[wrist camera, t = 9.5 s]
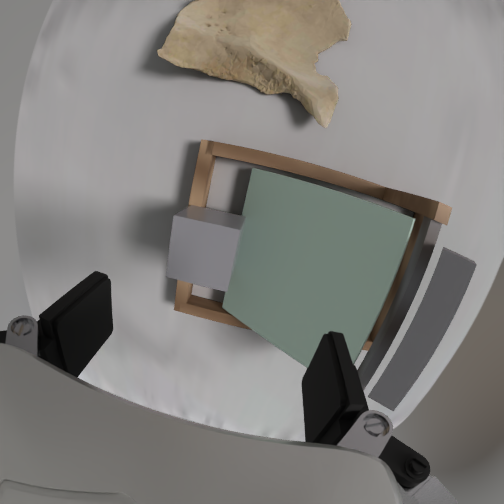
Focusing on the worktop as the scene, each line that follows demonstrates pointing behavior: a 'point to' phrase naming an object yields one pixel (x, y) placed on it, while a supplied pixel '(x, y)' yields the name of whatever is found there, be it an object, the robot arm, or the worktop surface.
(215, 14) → the rock
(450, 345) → the worktop surface
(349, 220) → the trapdoor
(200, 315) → the frame
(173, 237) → the block
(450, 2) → the worktop surface
